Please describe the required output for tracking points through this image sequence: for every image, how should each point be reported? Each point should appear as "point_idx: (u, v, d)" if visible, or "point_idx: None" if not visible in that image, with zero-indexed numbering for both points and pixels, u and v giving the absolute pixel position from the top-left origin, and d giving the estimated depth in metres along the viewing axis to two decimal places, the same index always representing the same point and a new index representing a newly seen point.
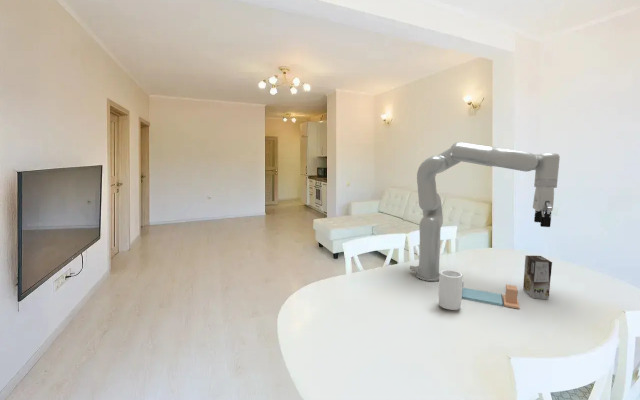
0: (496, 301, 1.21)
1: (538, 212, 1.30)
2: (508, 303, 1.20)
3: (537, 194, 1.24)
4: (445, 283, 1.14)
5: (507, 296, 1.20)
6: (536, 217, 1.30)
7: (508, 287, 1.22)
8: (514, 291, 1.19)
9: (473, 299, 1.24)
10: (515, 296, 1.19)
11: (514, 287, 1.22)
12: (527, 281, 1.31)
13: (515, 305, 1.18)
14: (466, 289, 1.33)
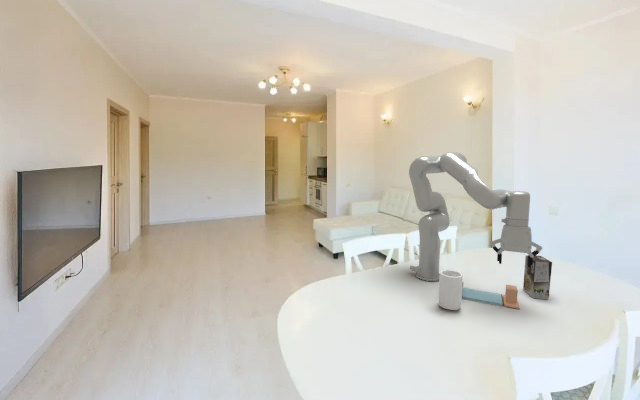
0: (496, 301, 1.21)
1: (501, 253, 1.21)
2: (508, 303, 1.20)
3: (521, 235, 1.16)
4: (445, 283, 1.14)
5: (507, 296, 1.20)
6: (501, 258, 1.21)
7: (508, 287, 1.22)
8: (514, 291, 1.19)
9: (473, 299, 1.24)
10: (515, 296, 1.19)
11: (514, 287, 1.22)
12: (527, 281, 1.31)
13: (515, 305, 1.18)
14: (466, 289, 1.33)
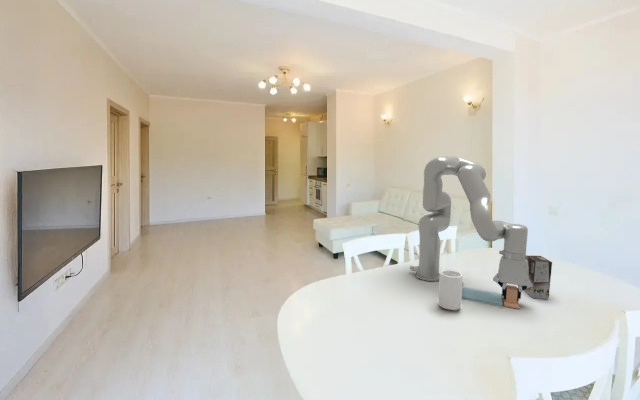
0: (496, 301, 1.21)
1: None
2: (508, 303, 1.20)
3: (518, 268, 1.17)
4: (445, 283, 1.14)
5: (507, 296, 1.20)
6: None
7: (508, 287, 1.22)
8: (514, 291, 1.19)
9: (473, 299, 1.24)
10: (515, 296, 1.19)
11: (514, 287, 1.22)
12: None
13: (515, 305, 1.18)
14: (466, 289, 1.33)
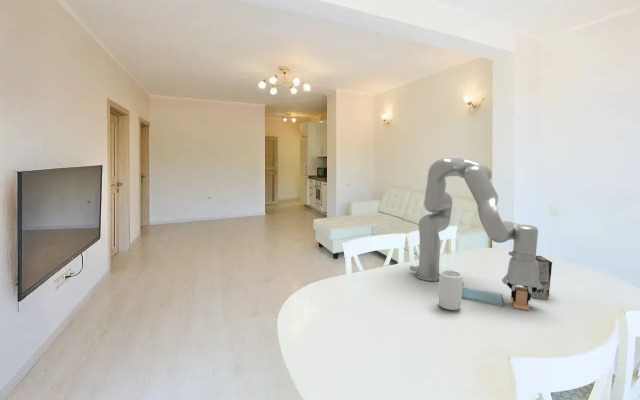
0: (496, 301, 1.21)
1: None
2: (517, 305, 1.18)
3: (528, 270, 1.16)
4: (445, 283, 1.14)
5: (517, 298, 1.19)
6: (515, 295, 1.20)
7: (517, 289, 1.20)
8: (524, 293, 1.18)
9: (473, 299, 1.24)
10: (525, 298, 1.18)
11: (524, 289, 1.20)
12: None
13: (525, 307, 1.16)
14: (466, 289, 1.33)
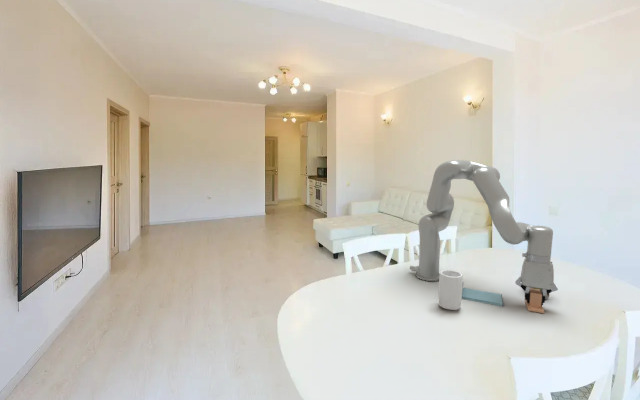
0: (496, 301, 1.21)
1: None
2: (532, 307, 1.16)
3: (543, 272, 1.14)
4: (445, 283, 1.14)
5: (531, 300, 1.17)
6: (529, 298, 1.18)
7: (531, 291, 1.18)
8: (538, 295, 1.15)
9: (473, 299, 1.24)
10: (539, 300, 1.15)
11: (538, 291, 1.18)
12: None
13: (539, 309, 1.14)
14: (466, 289, 1.33)
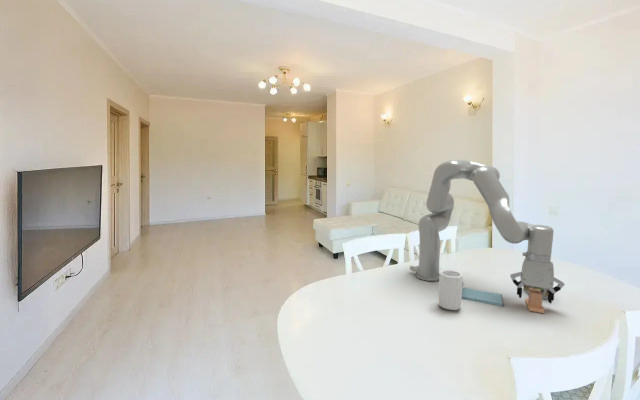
0: (496, 301, 1.21)
1: (521, 286, 1.20)
2: (532, 307, 1.16)
3: (543, 271, 1.14)
4: (445, 283, 1.14)
5: (531, 300, 1.17)
6: (521, 292, 1.19)
7: (532, 291, 1.18)
8: (539, 295, 1.15)
9: (473, 299, 1.24)
10: (540, 300, 1.15)
11: (538, 291, 1.18)
12: None
13: (540, 310, 1.14)
14: (466, 289, 1.33)
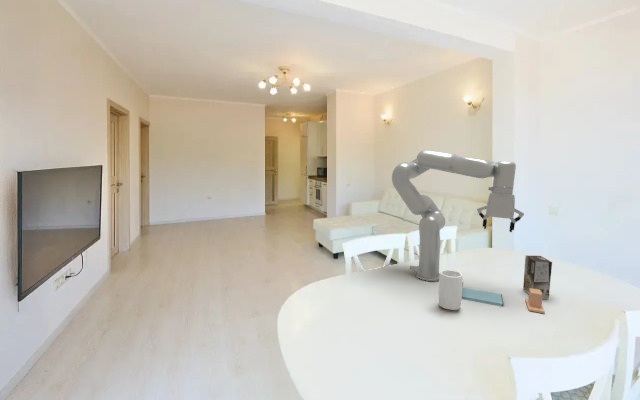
0: (496, 301, 1.21)
1: (486, 219, 1.31)
2: (532, 307, 1.16)
3: (505, 202, 1.25)
4: (445, 283, 1.14)
5: (531, 300, 1.17)
6: None
7: (532, 291, 1.18)
8: (539, 295, 1.15)
9: (473, 299, 1.24)
10: (540, 300, 1.15)
11: (538, 291, 1.18)
12: (527, 281, 1.31)
13: (540, 310, 1.14)
14: (466, 289, 1.33)
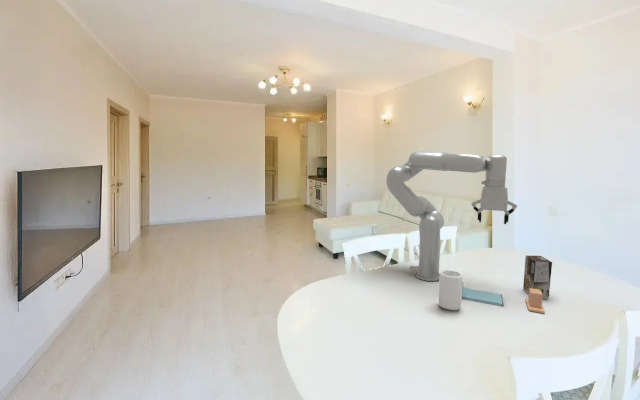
0: (496, 301, 1.21)
1: (480, 212, 1.34)
2: (532, 307, 1.16)
3: (498, 195, 1.28)
4: (445, 283, 1.14)
5: (531, 300, 1.17)
6: None
7: (532, 291, 1.18)
8: (539, 295, 1.15)
9: (473, 299, 1.24)
10: (540, 300, 1.15)
11: (538, 291, 1.18)
12: (527, 281, 1.31)
13: (540, 310, 1.14)
14: (466, 289, 1.33)
